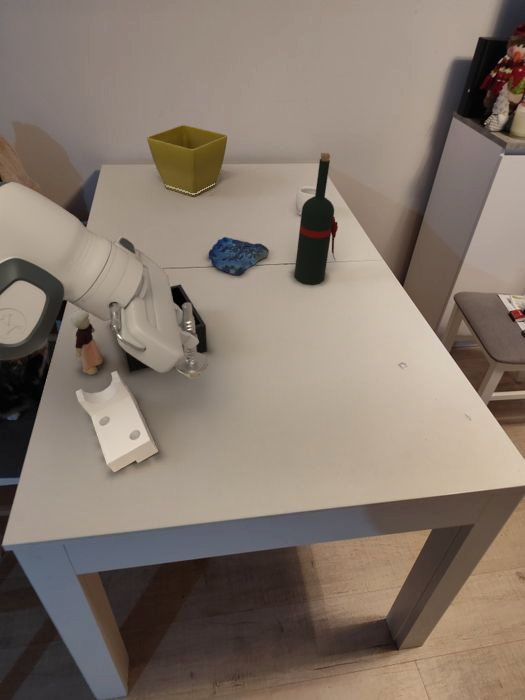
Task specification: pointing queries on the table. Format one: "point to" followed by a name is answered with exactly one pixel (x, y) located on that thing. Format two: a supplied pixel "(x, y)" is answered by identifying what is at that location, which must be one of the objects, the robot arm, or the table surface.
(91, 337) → the grandmother figurine
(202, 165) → the flower pot
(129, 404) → the bracket
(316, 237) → the wine bottle
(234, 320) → the table surface
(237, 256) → the rock
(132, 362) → the open box
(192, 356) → the screw
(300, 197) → the mug
